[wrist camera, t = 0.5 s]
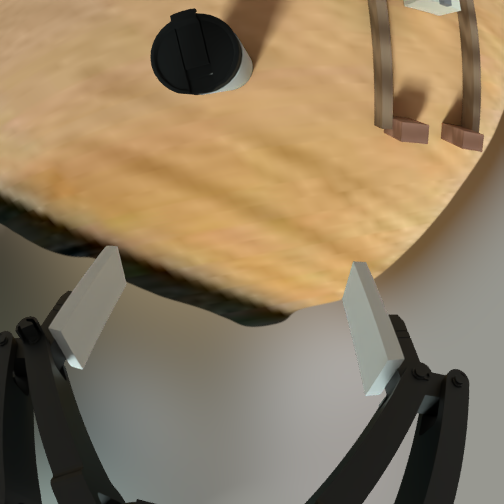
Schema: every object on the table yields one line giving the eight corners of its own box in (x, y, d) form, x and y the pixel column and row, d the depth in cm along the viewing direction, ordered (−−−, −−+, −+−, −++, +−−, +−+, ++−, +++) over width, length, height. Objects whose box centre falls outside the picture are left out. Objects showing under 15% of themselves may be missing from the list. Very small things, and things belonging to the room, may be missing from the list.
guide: (359, -50, 20) (371, -65, 15) (458, -21, 19) (478, -27, 14) (374, 132, 36) (390, 140, 31) (466, 142, 34) (488, 152, 29)
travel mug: (247, 39, 30) (228, -3, 13) (257, 85, 33) (247, 85, 17) (199, 50, 31) (138, 24, 14) (210, 94, 34) (157, 107, 17)
